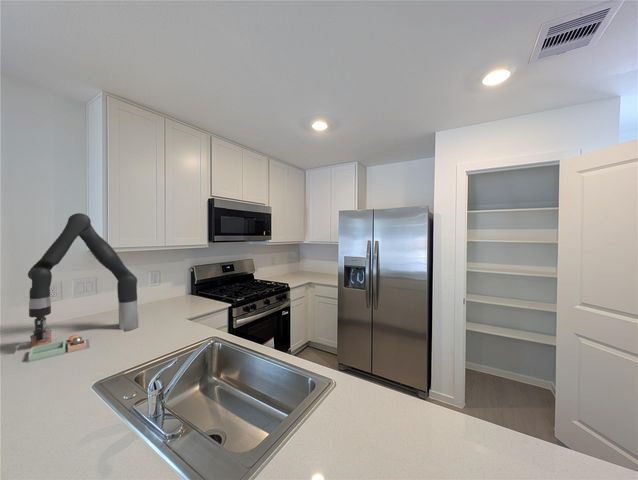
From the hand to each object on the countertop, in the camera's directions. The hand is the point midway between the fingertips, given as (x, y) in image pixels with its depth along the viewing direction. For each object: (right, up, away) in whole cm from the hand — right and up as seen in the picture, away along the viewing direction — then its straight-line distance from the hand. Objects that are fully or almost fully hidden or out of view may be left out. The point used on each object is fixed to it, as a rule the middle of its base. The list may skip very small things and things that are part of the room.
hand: (40, 337), depth 128 cm
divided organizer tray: (+15, -6, -5) cm, 17 cm away
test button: (+16, -4, +2) cm, 17 cm away
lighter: (+1, -5, 0) cm, 5 cm away
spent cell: (+22, -4, -3) cm, 22 cm away
